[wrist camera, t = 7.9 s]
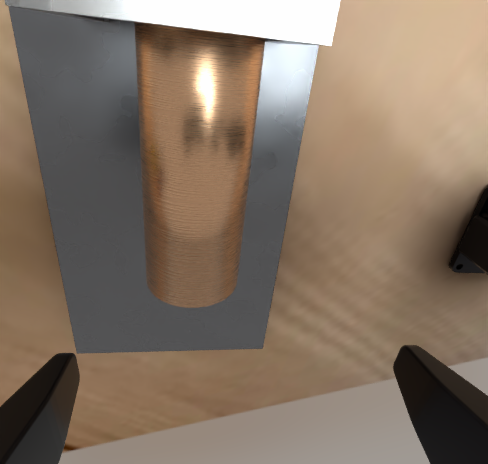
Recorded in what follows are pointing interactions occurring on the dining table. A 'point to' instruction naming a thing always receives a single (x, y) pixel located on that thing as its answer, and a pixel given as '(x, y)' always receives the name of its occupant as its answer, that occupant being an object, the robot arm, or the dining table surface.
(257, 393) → the dining table surface
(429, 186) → the dining table surface
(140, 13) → the frame
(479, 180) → the dining table surface
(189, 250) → the tube
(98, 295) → the plate
